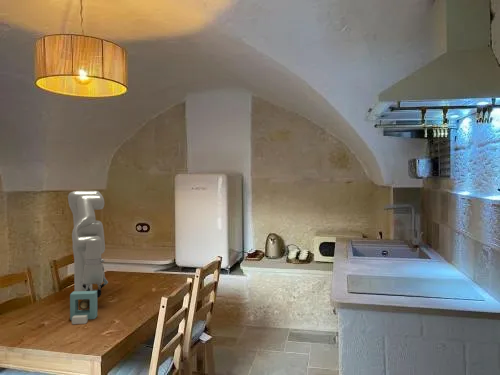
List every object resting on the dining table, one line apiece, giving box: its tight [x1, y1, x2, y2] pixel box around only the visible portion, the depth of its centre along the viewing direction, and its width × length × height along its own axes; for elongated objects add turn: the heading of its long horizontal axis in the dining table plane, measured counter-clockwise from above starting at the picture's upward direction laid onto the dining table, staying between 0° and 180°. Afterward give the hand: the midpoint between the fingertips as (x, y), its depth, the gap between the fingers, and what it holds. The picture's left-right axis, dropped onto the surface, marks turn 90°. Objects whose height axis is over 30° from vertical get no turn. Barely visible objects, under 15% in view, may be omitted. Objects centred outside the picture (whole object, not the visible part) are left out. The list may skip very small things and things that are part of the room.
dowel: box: [79, 288, 98, 310], centre depth 198 cm, size 22×4×4 cm, turn 8°
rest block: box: [71, 315, 89, 325], centre depth 183 cm, size 3×6×3 cm, turn 97°
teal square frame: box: [69, 290, 98, 321], centre depth 190 cm, size 5×11×12 cm, turn 98°
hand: (93, 296), depth 207 cm, fingers closed on dowel, 4 cm apart
